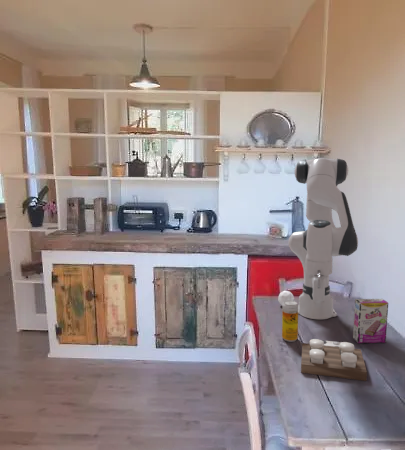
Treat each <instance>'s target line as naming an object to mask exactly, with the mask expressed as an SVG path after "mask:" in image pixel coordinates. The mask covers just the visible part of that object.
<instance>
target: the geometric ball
mask: <svg viewBox="0 0 405 450" xmlns="http://www.w3.org/2000/svg"><path fill="white" fill-rule="evenodd" d="M277 298H278V299H277V300H278V303H279V304H280V305H281V306H282V305H283V303H284V301H295V296H294V294H293V293H292V292H291V291H290V290H283V291H281V292H280V293H279V294H278V297H277Z"/></svg>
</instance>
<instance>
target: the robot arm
mask: <svg viewBox="0 0 405 450" xmlns="http://www.w3.org/2000/svg"><path fill="white" fill-rule="evenodd" d="M348 176H349V167H348V164H347V162H346V160H344V159H340V158H337V159H336V158H326V157H318V158H312V159H302V160H301V159H300V160H298V162H297V164H296V165H295V168H294V177H295V179H296V182H298V183H300V184H306V193H307V194H306V207H305V216H306V219H307V221H309V223H308V225H307V229H306V230H301V231H295V232H292V233H291V235H290V236H289V237H288V247H289V249H290V251H291V252H292V253H293V254H295V255H296V257H297V258H298V259H299V261H300V262H301V265H302V268H303V284H302V293H300V295H299V296H298V315H300V316H302V317H304V318H306V319H311V320H327V319H330V318H333V317H334V318H335V317H337V316H338V314H337V312H336V310H335V309H334V298H333V297H332V296H331V295H330V293H331V287H330V275H332V274H333V259H334V258H333V257H338V256H346V257H348V256H350V255H353V253H355V252H356V251H357V250H358V246H359V238H358V234H357V232H356V229H355V226H354V223H353V218H352V215H351V210H350V206H349V203H348V200H347V196H346V194H345V193H344V191H341V190H340V189H339V188H338V185H340V184H342V183H344V182H345V181H346V179H347V178H348ZM332 211H335V212H336V213H337V214H338V220H339V224H340V226H339V227H336V225H335V222H334V220H333V212H332Z"/></svg>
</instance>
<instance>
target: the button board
mask: <svg viewBox="0 0 405 450" xmlns="http://www.w3.org/2000/svg"><path fill="white" fill-rule="evenodd" d="M301 345H302V346H301V361H300V363H301V364H300V373H303V374H309V375H317V376H318V375H319V376H324V377H331V378H340V379H341V378H342V379H348V380H354V381H355V380H356V381H363V382H367V381H368V380H367V378H368V377H367V376H368V371H367V367H366V363H365V360H364V356H363V352H362V349H360V348H354V352H353V354H355V355H356V356H357V363H356V368H351V367H343V366H342V361H341V354H340V349H339V347H335V346H325V345H324V348H323V349H322V351H324V353H325V358H324V359H323V364H318V363H311V358H310V350H311V347H310V343H307V342H306V343H304V342H302V343H301Z"/></svg>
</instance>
